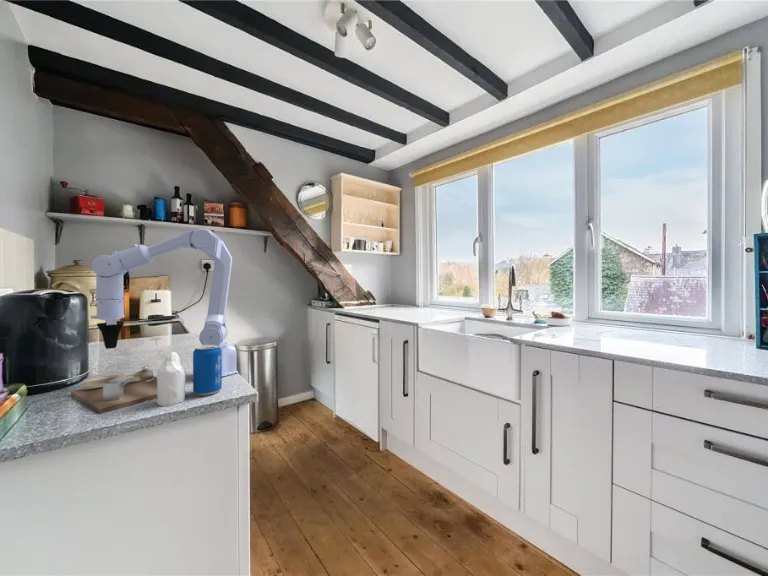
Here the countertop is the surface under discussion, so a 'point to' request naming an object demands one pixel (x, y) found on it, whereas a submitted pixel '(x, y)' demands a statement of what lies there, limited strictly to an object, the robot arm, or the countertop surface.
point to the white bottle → (171, 381)
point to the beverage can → (207, 369)
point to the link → (102, 380)
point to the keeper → (118, 386)
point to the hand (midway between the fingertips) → (110, 348)
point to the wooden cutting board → (131, 396)
